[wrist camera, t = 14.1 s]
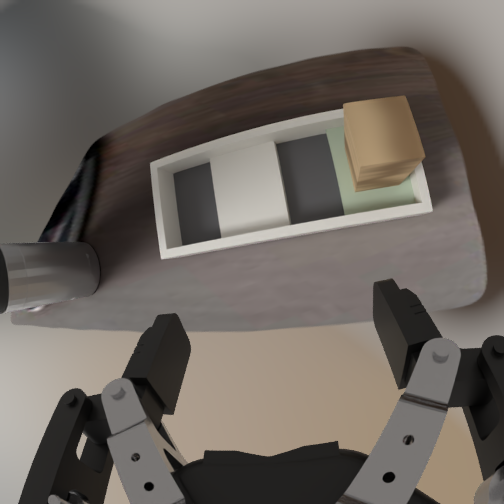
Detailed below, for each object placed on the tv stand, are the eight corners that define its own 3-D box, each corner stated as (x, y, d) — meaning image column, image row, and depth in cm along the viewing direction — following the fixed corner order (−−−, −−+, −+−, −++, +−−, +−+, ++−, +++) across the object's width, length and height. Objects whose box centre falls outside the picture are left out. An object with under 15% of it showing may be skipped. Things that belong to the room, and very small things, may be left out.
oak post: (354, 192, 29) (360, 166, 19) (344, 148, 29) (343, 103, 19) (399, 185, 28) (425, 157, 17) (387, 141, 28) (405, 95, 17)
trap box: (178, 257, 37) (161, 259, 34) (167, 169, 38) (150, 162, 34) (422, 214, 28) (432, 211, 24) (396, 115, 28) (401, 100, 25)
